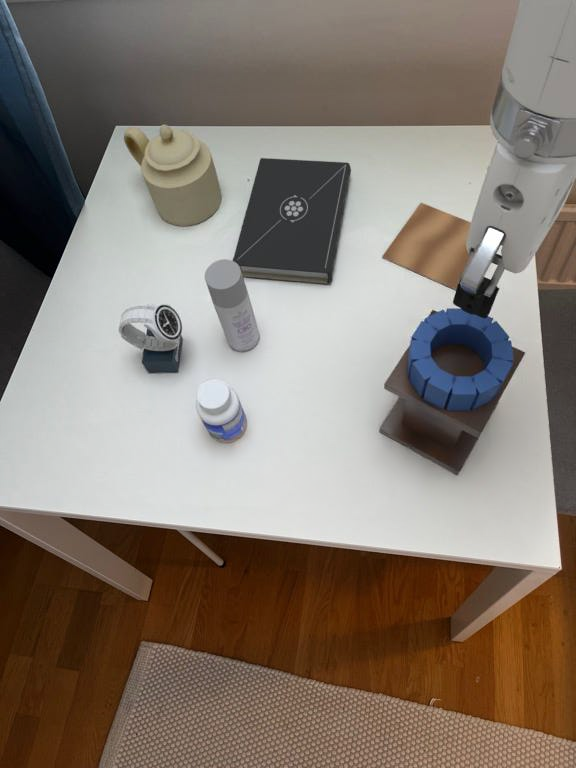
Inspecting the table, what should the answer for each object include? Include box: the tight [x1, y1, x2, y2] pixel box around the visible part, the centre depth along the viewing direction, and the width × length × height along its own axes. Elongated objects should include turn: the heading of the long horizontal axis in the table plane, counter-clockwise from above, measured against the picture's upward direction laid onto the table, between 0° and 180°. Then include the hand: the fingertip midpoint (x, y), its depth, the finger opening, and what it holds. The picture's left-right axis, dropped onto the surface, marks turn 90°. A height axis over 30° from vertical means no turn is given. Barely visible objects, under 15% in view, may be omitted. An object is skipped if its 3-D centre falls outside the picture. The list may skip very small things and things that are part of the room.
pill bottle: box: [195, 378, 248, 443], centre depth 73 cm, size 5×5×10 cm
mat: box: [381, 202, 471, 291], centre depth 86 cm, size 12×12×1 cm
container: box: [204, 259, 261, 353], centre depth 76 cm, size 5×5×15 cm
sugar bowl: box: [123, 124, 222, 227], centre depth 89 cm, size 15×11×15 cm
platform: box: [379, 309, 526, 476], centre depth 68 cm, size 11×11×14 cm
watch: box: [118, 303, 184, 374], centre depth 78 cm, size 6×8×11 cm
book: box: [232, 157, 352, 286], centre depth 90 cm, size 22×15×3 cm
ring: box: [407, 307, 514, 411], centre depth 60 cm, size 10×10×4 cm
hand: (494, 270), depth 52 cm, fingers open, 9 cm apart
